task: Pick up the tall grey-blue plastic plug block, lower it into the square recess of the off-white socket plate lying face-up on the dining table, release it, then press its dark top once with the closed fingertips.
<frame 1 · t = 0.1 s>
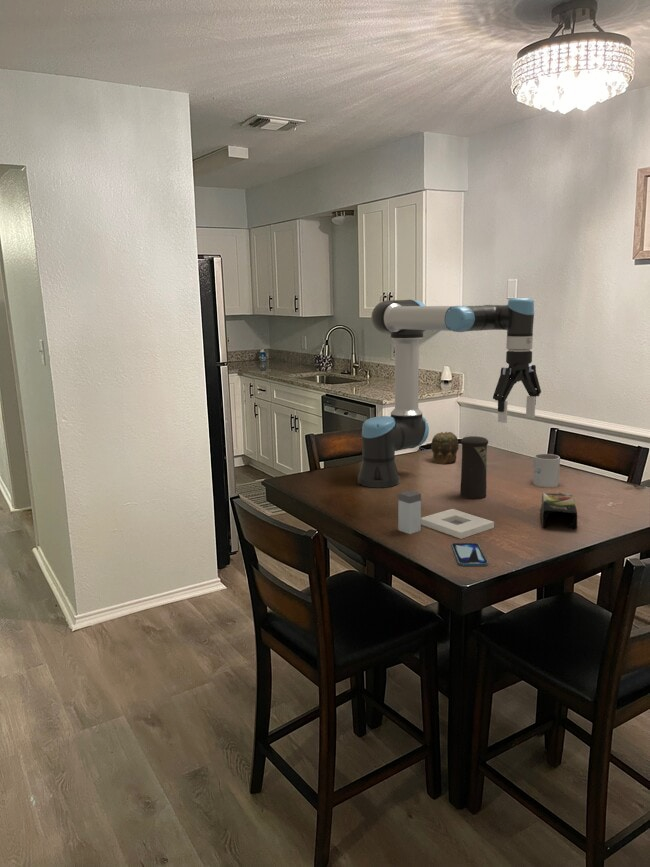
hand: (516, 419, 203), 28 cm above the table, fingers open, 13 cm apart
plug: (409, 530, 189), on the table
juice carton: (558, 520, 196), on the table
smartphone: (468, 556, 170), on the table
brown rounded lump: (444, 462, 268), on the table
container: (472, 496, 221), on the table
socket: (456, 525, 192), on the table
mug: (544, 483, 235), on the table
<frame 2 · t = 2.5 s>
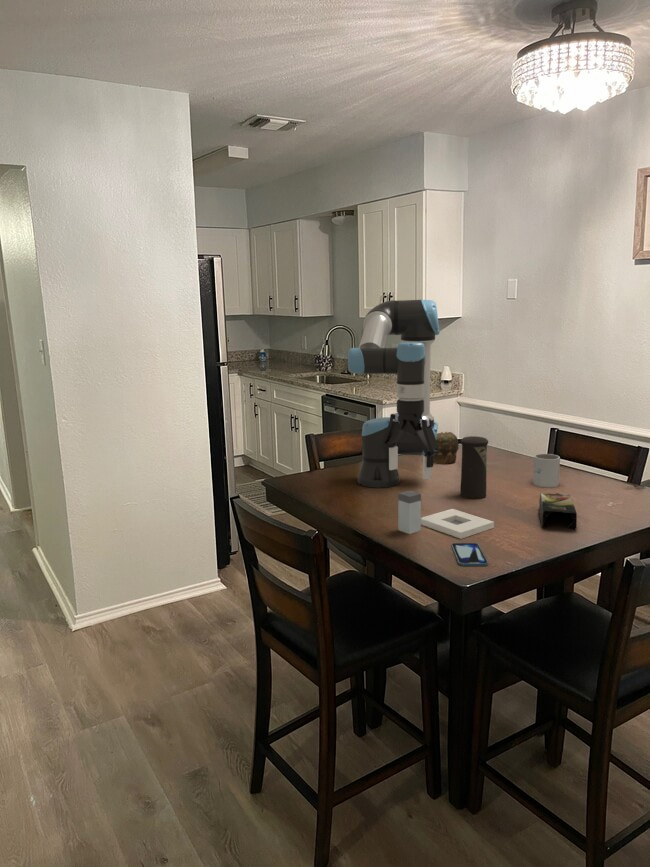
hand: (409, 473, 185), 17 cm above the table, fingers open, 13 cm apart
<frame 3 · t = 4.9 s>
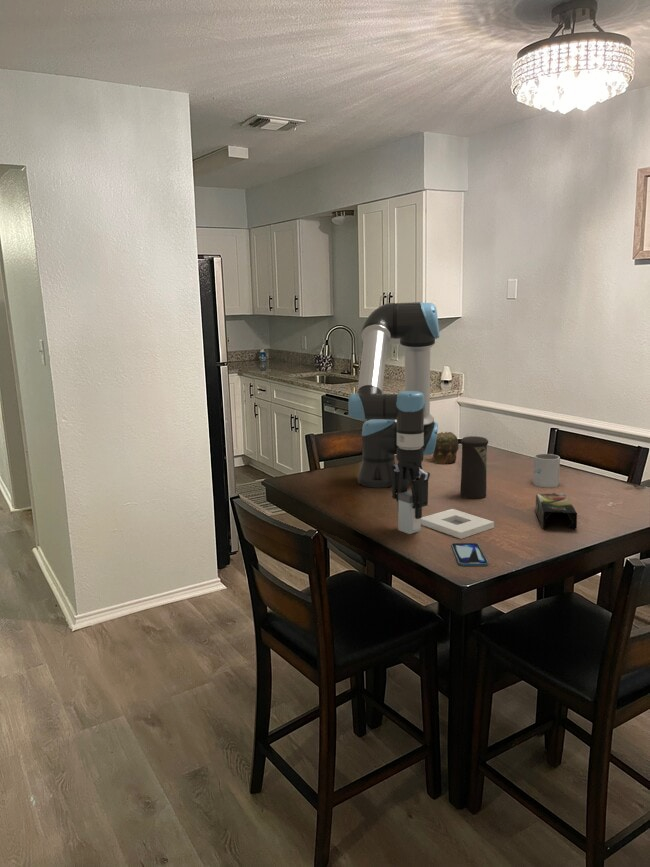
hand: (409, 526, 189), 1 cm above the table, fingers closed on plug, 4 cm apart
plug: (409, 530, 189), on the table, touching gripper
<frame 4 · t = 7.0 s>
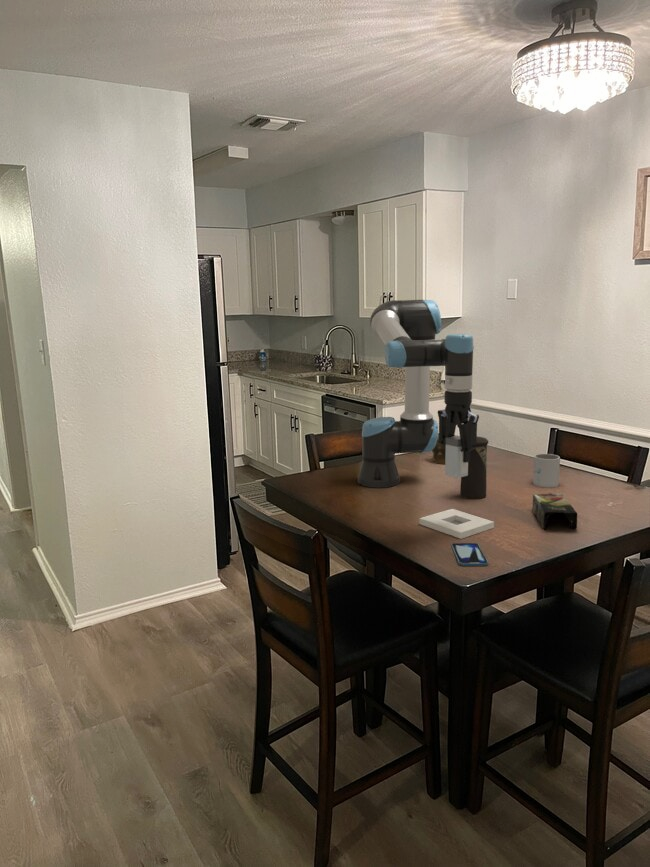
hand: (456, 471, 188), 17 cm above the table, fingers closed on plug, 4 cm apart
plug: (456, 475, 189), point 15 cm above the table, touching gripper
when the fingers open (3 cm above the table, at t = 9.0 s): plug drops 1 cm, resting on socket.
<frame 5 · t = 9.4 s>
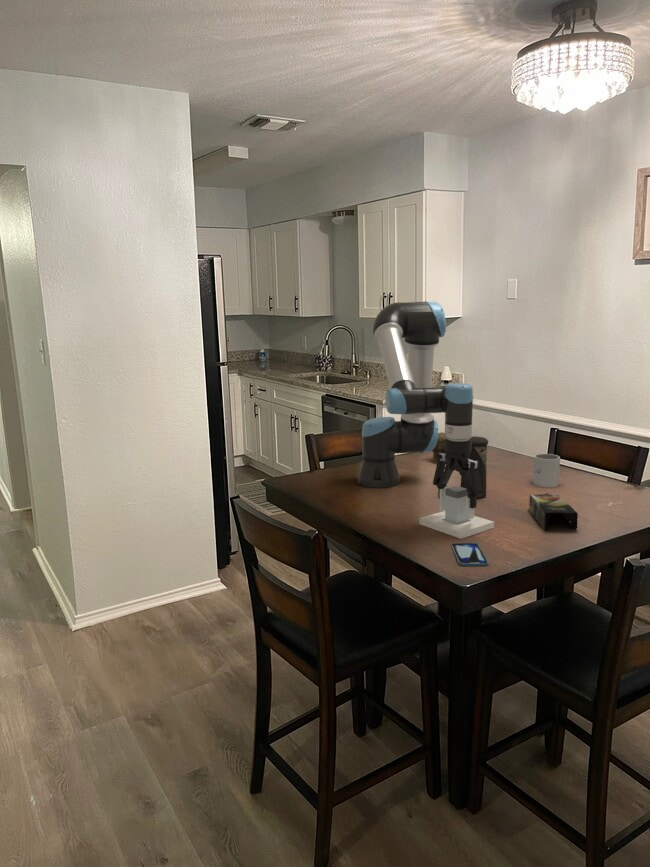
hand: (456, 514, 191), 4 cm above the table, fingers open, 9 cm apart
plug: (456, 525, 192), resting on socket
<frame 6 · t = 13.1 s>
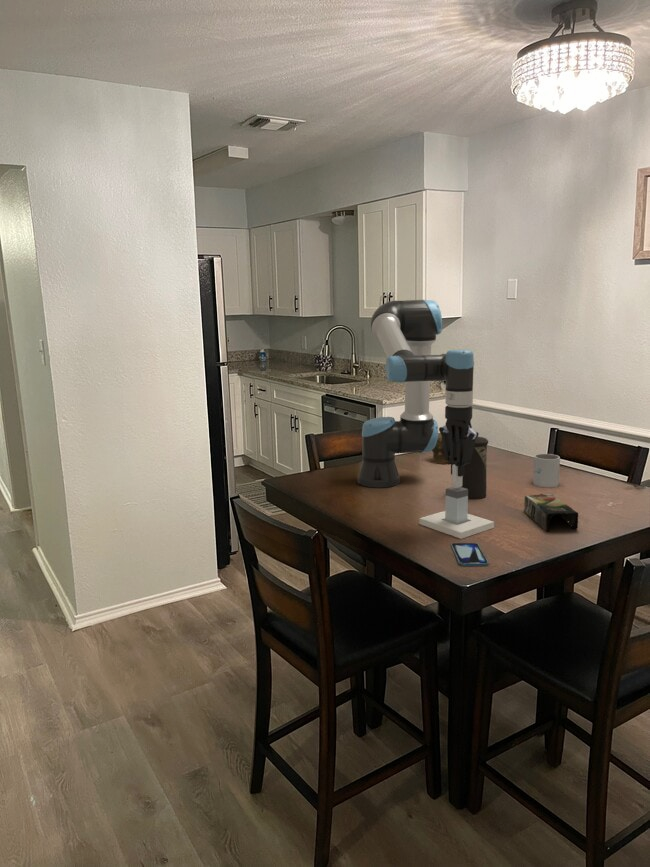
hand: (457, 486, 189), 12 cm above the table, fingers closed
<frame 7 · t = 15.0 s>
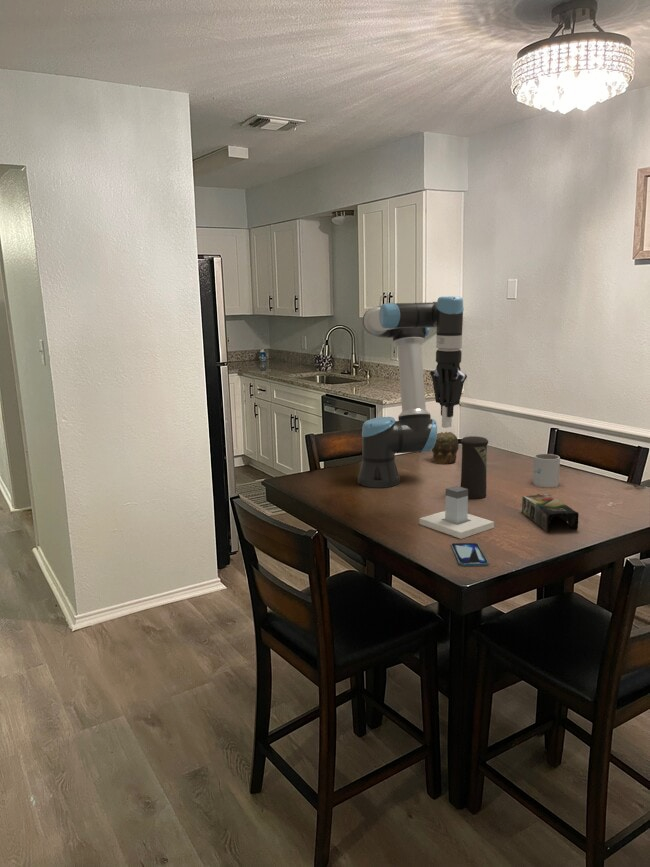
hand: (446, 426, 201), 27 cm above the table, fingers closed
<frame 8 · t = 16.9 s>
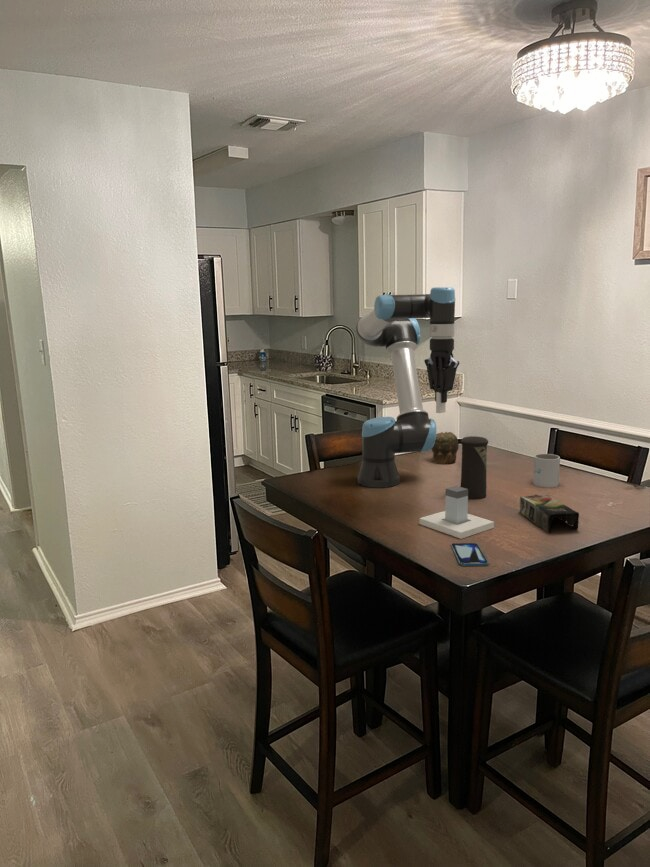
hand: (440, 412, 210), 29 cm above the table, fingers closed
at the end: plug 0.0 cm off-centre on the socket, point 0.2 cm above the socket's base; plug tilted 0°; the gripper is holding nothing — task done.
